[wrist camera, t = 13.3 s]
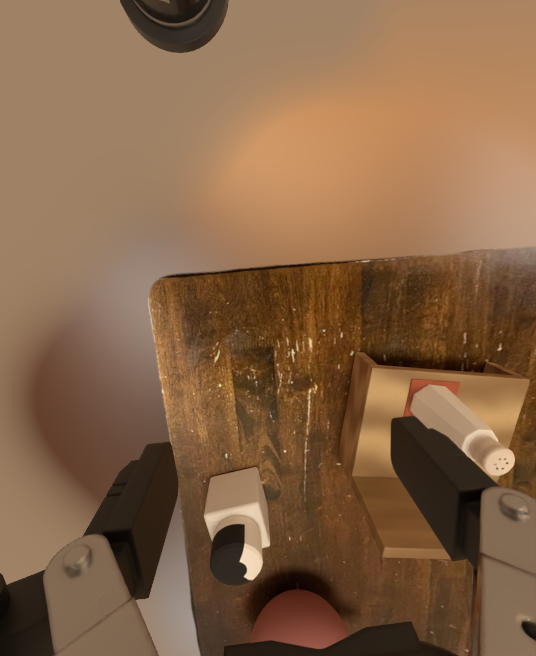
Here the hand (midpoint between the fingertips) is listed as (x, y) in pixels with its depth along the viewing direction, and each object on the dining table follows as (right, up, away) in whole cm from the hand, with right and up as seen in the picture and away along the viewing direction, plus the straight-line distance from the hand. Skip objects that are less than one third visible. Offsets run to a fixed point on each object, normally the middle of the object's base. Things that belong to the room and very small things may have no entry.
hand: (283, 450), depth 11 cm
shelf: (+21, -7, +34) cm, 40 cm away
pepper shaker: (+19, -5, +27) cm, 33 cm away
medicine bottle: (-5, -20, +36) cm, 41 cm away
